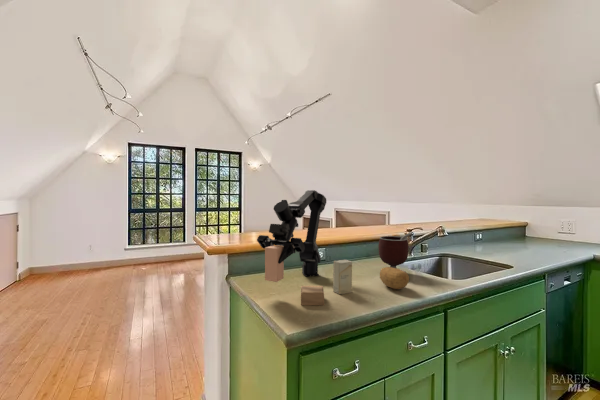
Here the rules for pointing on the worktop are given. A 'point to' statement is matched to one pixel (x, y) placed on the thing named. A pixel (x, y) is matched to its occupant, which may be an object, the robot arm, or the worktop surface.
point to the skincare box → (342, 276)
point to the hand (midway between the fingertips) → (272, 262)
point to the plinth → (312, 295)
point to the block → (273, 264)
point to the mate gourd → (393, 250)
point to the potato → (394, 277)
